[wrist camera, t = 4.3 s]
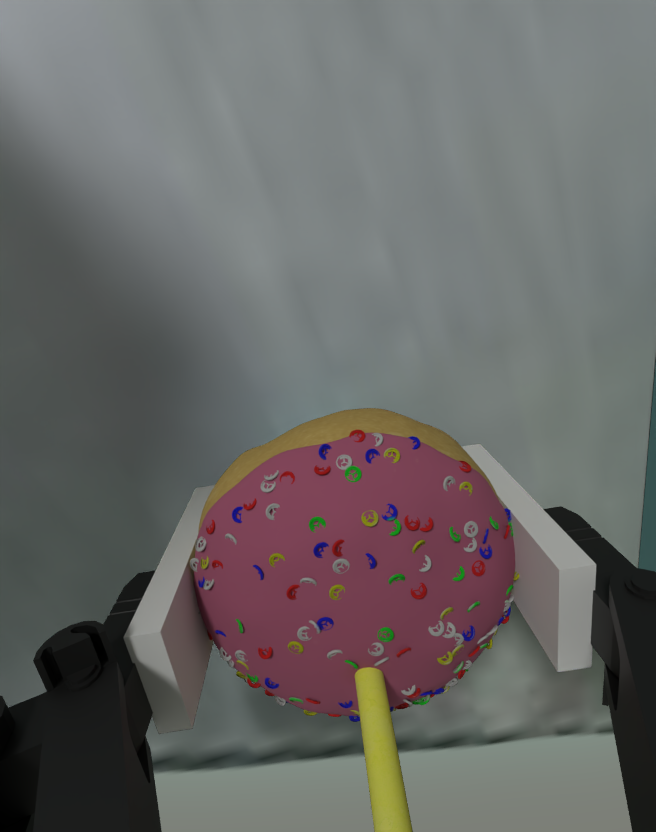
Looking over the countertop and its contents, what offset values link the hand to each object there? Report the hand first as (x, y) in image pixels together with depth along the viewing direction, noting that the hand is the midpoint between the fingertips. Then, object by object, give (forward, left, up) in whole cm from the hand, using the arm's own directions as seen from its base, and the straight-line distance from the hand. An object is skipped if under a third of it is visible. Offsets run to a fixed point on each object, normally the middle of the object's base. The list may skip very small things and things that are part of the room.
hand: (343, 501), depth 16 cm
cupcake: (0, 0, -1) cm, 1 cm away
